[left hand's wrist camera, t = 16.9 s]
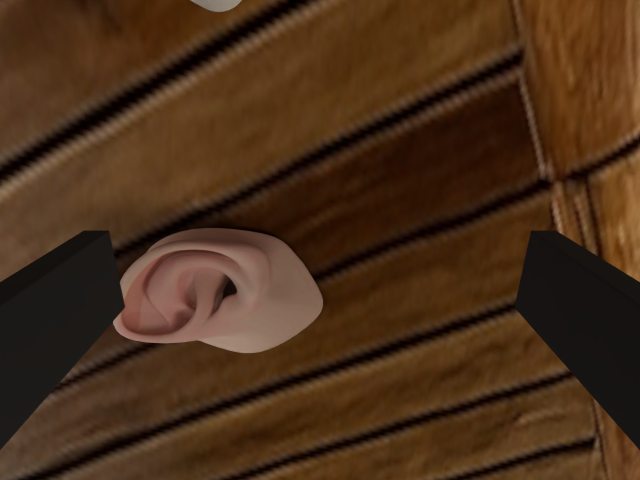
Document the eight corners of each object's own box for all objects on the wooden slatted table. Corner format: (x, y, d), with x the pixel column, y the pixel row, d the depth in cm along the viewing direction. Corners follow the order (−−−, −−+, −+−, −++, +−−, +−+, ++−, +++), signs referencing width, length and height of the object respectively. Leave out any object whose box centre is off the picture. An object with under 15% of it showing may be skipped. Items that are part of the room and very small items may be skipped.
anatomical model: (349, 311, 25) (256, 416, 29) (346, 281, 29) (264, 378, 32) (164, 197, 22) (88, 330, 26) (187, 179, 26) (117, 299, 30)
